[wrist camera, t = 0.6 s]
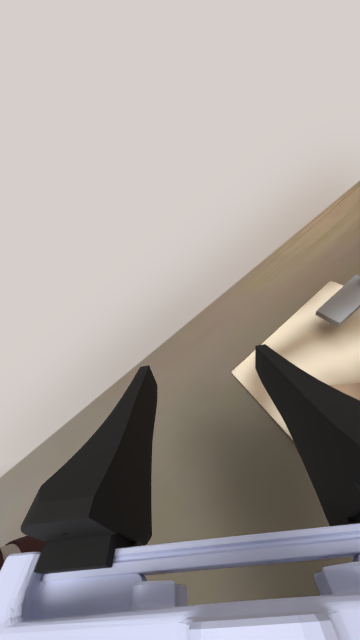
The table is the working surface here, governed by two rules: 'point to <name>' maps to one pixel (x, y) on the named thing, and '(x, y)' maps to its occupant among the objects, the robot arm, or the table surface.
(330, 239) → the table surface
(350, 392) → the brown long round-headed piece
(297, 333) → the plate
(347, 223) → the table surface
